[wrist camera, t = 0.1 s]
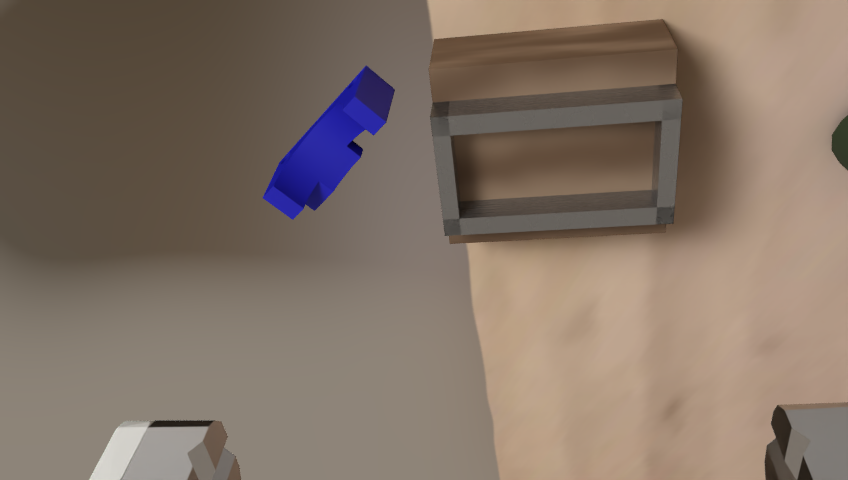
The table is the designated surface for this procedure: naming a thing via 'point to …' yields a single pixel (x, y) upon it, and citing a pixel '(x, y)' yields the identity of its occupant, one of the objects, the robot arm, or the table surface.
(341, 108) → the cable clip
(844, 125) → the character mug
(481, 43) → the hinge cabinet
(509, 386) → the table surface
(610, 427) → the table surface
